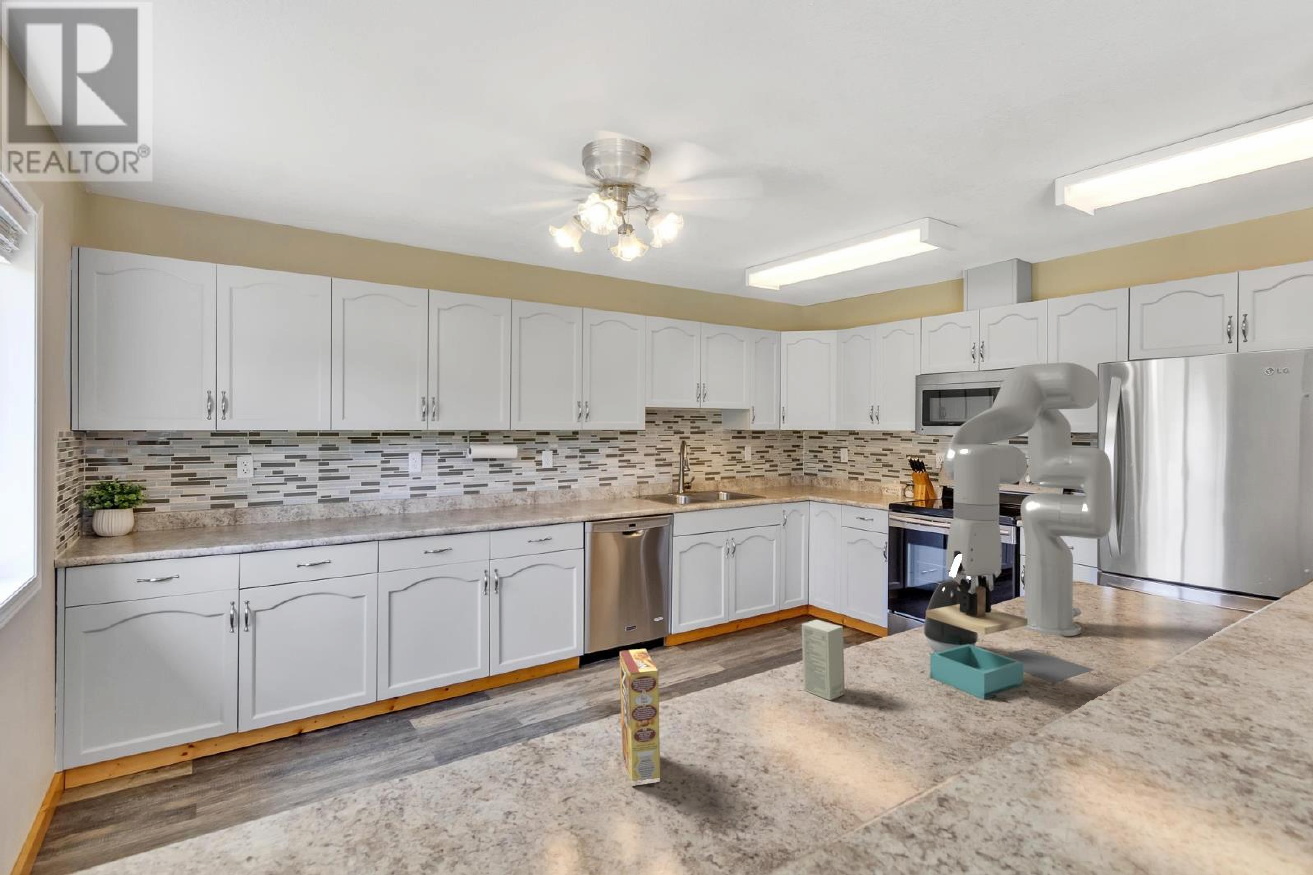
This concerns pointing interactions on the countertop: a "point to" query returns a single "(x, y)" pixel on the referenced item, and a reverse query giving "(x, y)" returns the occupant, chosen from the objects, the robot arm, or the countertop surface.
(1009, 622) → the lid
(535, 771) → the countertop surface
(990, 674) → the dish
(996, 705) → the countertop surface
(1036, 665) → the mat
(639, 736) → the candy box
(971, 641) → the pump dispenser
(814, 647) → the skincare box
